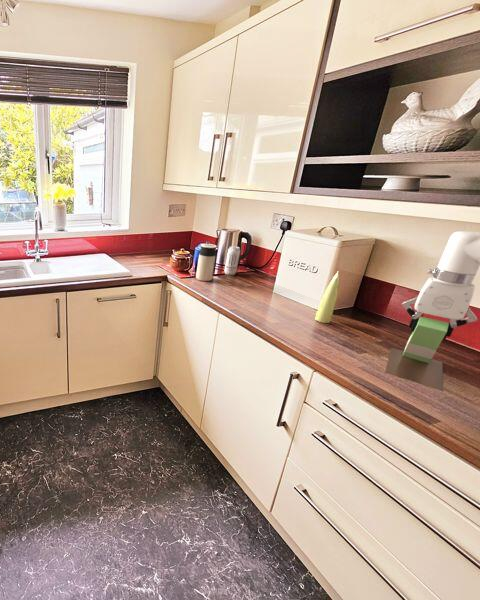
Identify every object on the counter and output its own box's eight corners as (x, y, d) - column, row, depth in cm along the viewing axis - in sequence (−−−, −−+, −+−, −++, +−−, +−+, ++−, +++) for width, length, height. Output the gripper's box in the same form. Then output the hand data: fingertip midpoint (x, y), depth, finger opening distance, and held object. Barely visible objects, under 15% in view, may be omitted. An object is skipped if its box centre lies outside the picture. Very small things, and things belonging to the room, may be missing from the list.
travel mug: (214, 280, 174) (220, 246, 167) (201, 281, 172) (206, 247, 165) (206, 276, 181) (211, 243, 174) (192, 277, 179) (197, 244, 173)
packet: (428, 363, 102) (431, 354, 104) (447, 332, 94) (449, 322, 95) (402, 355, 106) (405, 347, 108) (417, 325, 97) (420, 316, 99)
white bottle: (223, 274, 184) (228, 247, 178) (224, 271, 189) (228, 245, 183) (235, 276, 182) (240, 249, 176) (235, 273, 187) (240, 246, 181)
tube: (334, 324, 128) (350, 275, 120) (321, 324, 127) (337, 275, 120) (323, 317, 133) (338, 270, 126) (311, 318, 133) (325, 271, 125)
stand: (441, 363, 103) (442, 362, 103) (442, 392, 90) (443, 390, 90) (390, 349, 111) (391, 347, 111) (384, 373, 98) (384, 372, 97)
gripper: (410, 273, 96) (388, 328, 103) (502, 287, 85) (470, 349, 92) (411, 267, 101) (390, 321, 108) (498, 280, 90) (468, 339, 97)
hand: (427, 333), depth 100 cm, fingers closed on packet, 6 cm apart
